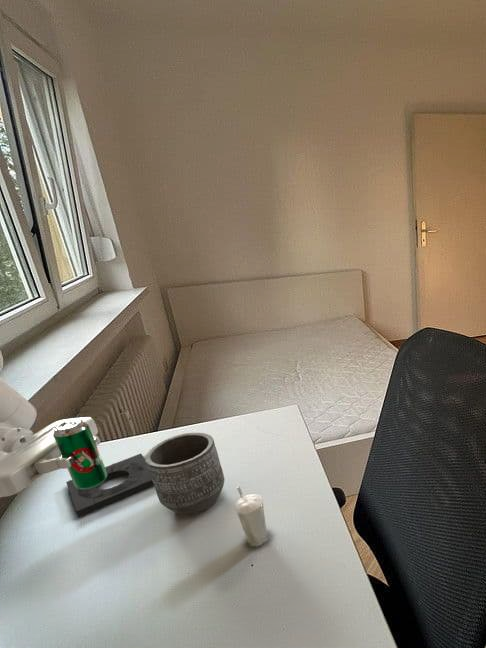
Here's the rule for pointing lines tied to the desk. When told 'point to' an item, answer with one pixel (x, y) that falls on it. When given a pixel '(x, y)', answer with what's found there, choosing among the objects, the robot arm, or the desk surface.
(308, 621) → the desk surface
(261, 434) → the desk surface
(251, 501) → the milkshake
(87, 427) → the soda can
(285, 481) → the desk surface
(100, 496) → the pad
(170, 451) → the planter
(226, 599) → the desk surface
